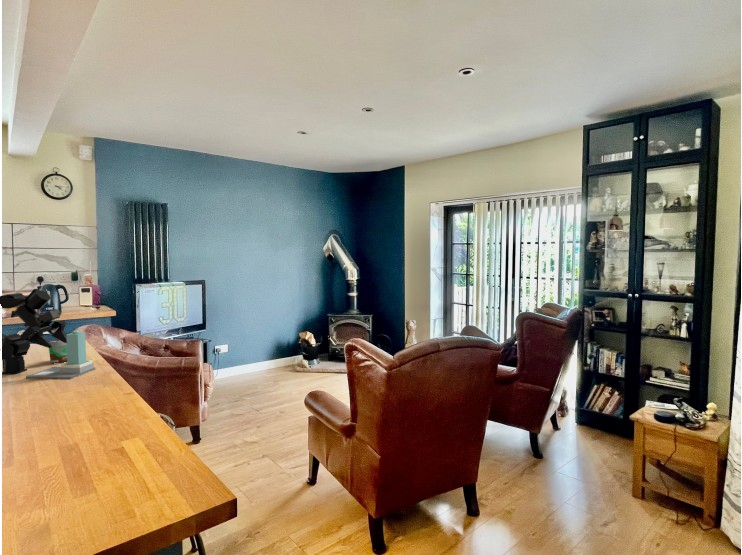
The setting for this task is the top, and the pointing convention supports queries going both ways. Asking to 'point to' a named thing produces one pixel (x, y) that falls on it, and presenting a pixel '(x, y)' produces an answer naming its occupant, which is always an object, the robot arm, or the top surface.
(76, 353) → the pillar
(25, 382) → the top surface
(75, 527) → the top surface
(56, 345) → the food container
